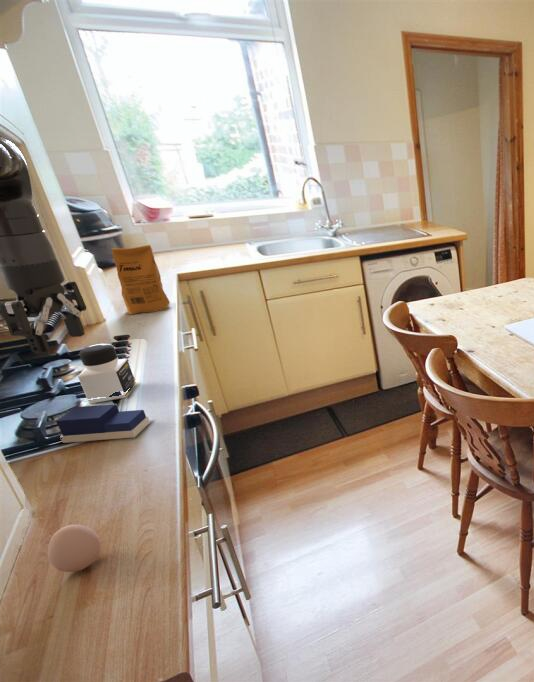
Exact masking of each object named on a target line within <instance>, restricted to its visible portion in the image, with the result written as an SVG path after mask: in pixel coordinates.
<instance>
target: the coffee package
mask: <svg viewBox="0 0 534 682" xmlns="http://www.w3.org/2000/svg"><path fill="white" fill-rule="evenodd" d="M111 252H112V258H113V261H114V264H115V268H116V271H117V278H118V280H119V283H120V286H121V296H122V299H123V302H124V305H125V307H126V311H127V313H128V314H130V315H135V314H140V313H153V312H158V311H163V310H168V308H169V305H170V303H171V301H170V299H169V298H168V295H167V294H166V293H165V290H164V288H163V282H162V279H161V273H160V270H159V267H158V265H157V263H156V259H155V256H154V253H153V249H152V246H151V244H147V245H142V246H136V247H132V248H121V247H116V248H115V247H111Z"/></svg>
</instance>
